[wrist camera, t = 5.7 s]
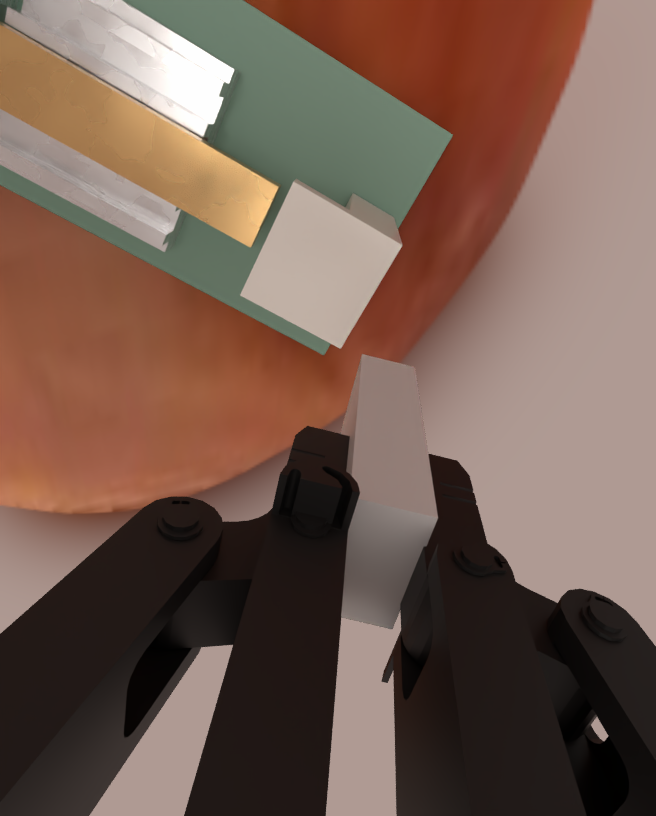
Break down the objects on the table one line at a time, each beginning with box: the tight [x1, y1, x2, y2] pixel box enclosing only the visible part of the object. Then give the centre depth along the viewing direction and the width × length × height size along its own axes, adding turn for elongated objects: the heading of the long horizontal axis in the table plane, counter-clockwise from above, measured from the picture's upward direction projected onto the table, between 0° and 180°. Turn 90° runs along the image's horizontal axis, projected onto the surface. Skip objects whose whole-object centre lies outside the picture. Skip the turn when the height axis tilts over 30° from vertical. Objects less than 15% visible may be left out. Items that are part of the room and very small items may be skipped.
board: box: [0, 0, 453, 355], centre depth 26 cm, size 24×13×1 cm, turn 62°
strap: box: [0, 21, 281, 248], centre depth 23 cm, size 16×3×1 cm, turn 62°
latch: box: [240, 179, 402, 349], centre depth 25 cm, size 5×5×7 cm
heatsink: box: [0, 0, 241, 252], centre depth 23 cm, size 12×9×6 cm
